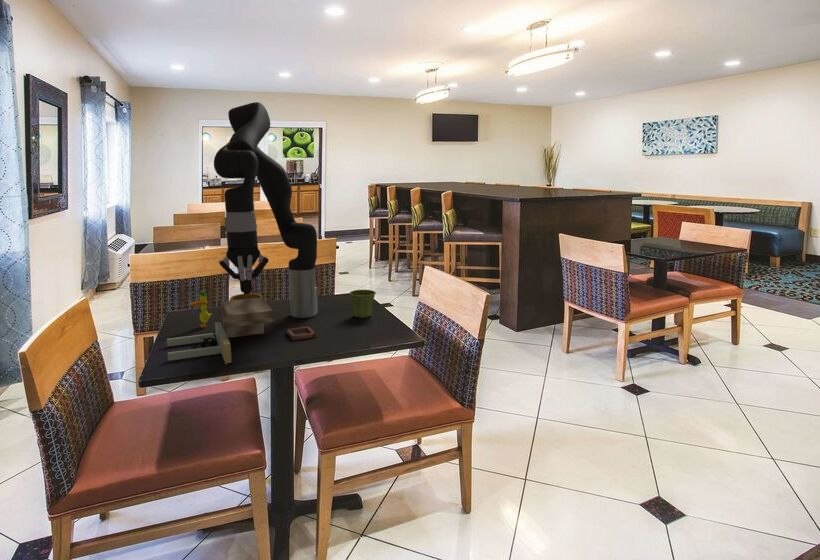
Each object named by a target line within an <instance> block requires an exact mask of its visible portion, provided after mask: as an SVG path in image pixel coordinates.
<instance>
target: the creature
mask: <svg viewBox="0 0 820 560" xmlns="http://www.w3.org/2000/svg"><path fill="white" fill-rule="evenodd" d="M213 333H214V337H215V340H214V338H207V339H205V338H204V337H202V338H203V340H204V341H203V342H197V343H195V346H192V347H191V348H190V350H191V349H198V345H199V347H200V346H201V348H205V347H206V346H207V342H209V341H208V340H209V339H211V340H212V341H211V343H210V345H209V346H208V347H213V346H218V343H217V340H216V338H217V337H216V336H215V333H216V331H213ZM200 339H201V337H200Z"/></svg>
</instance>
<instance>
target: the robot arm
mask: <svg viewBox="0 0 820 560" xmlns="http://www.w3.org/2000/svg"><path fill="white" fill-rule="evenodd" d="M227 114H228V120H229V123H230V126H231V129H232V130H233V132H234V133H233V134H232V135H231V137H230V139H229V141H228V142H227V144H225V145H223V146H222V147H220V148H219V150H217V151H216V153H215V155H214V159H213V168H214V171H215V173H216V174H217V175H218V176H219V177H221V178H223V179H243V183H242V184H241V185H239V186H236V187H231V188H227V189H226V190H225V191H224V205H225V206H224V207H225V229H226V241H227V251H226V253H225V254H226V255H225V257H224V258H223V259H220V260H219V261H218V264H219V266H221V267H222V269H224V270H225V272H227V274H228V275H230V277H231V278H232V279H234V280H238V281H239V289H240V291H241V293H242V294H251V292H253V291H252V290H253V283H252V280H253V279H255V278H258V277H259V276H260V274H261V272H262V271H263V269H264V268H265V267H266V265H267V264H268V263H269V258H268V257H267V256H264V255H262V254H261V251H260V249H259V247H258V245H259V243H258V225H257V219H256V218H257V217H256V215H255V203H254V190H255V183H256V178H257V181H258V184H259V185H260V187H261V190H262V192H263V195H264V196H265V198H266V200H267V203H268V205H269V207H270V209H271V211H272V214H273V217H274V218H275V222H276V225H277V228H278V231H279V234H280V237H281V240H282V241H283V244H284V245H285V246H286V247H288V248H289V249H293V250H297V256H296V257H295V258H292V259H290V260H289V261H288V280H289V302H290V303H289V304H290V306H289V307H290V316H291V317H292V318H297V319H306V318H313V317H315V316H317V314H318V313H319V307H318V305H319V304H318V303H319V302H318V288H317V286H316V284H317V280H316V263H317V262H316V261H317V257H318V234H317V230H316V228H315V227H314V225H313V224H311V223H306V222H305V223H304V222H303V223H302V222H297V221H296V219H295V218H294V215H293V213H292V209H291V201H292V197H293V187H292V184H291V181H290V179H289V176H288V174H287V172H286V170H285V168H284V167H283V166H282V165H281V164H280V163H279V162H277V160H275V159H274V158H272V157H271V156H270V155H268V154H267V153H266V152H264V151H263V150H261V149H260V148H259V144H260V142H261V141H262V140H263V138H264V137H265V135H266V134H267V133H268V132H269V131H270V128H271V120H270V119H271V118H270V116H269V112H268V110H267V109H266V107H265V106H264V105H263V103H261V102H258V101H257V102H249V103H246V104H243V105H239V106H237V107H233V108H231V109H229V110H228V113H227ZM257 261H258V264H257V265H256V266H255V268H254V269H253V266H254V265H255V264H256V262H257ZM230 262H231V264H233V266H234V267H235V268H236V269H237V273H236V272H235V271H234V270H232V268H230Z"/></svg>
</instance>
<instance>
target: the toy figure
mask: <svg viewBox="0 0 820 560" xmlns="http://www.w3.org/2000/svg"><path fill="white" fill-rule="evenodd" d="M208 304H209V301H207V294H206V291H200V294H199V300H198V301H192V302H190V303H189V305H190V306H191V307H200V309H201V310H200V311H201V312H200V313H199V320H200V322H201V323H202V324H200V325H199V327H200V328H201V329H203V328H207V327H208V326H207V325H206V323H209V322H208V321H209V319H210V318H211V316H212V315H213V313H212V312H210V313H209V312H208V311H207V307H208V306H207V305H208Z"/></svg>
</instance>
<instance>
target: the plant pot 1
mask: <svg viewBox="0 0 820 560" xmlns="http://www.w3.org/2000/svg"><path fill="white" fill-rule="evenodd" d="M252 298H262V299H263V295H262V294H259V293H250V294H244V293H239V294H235V295H232V296H231V297H230V298H229V301H232V300H242V299H252Z"/></svg>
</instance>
